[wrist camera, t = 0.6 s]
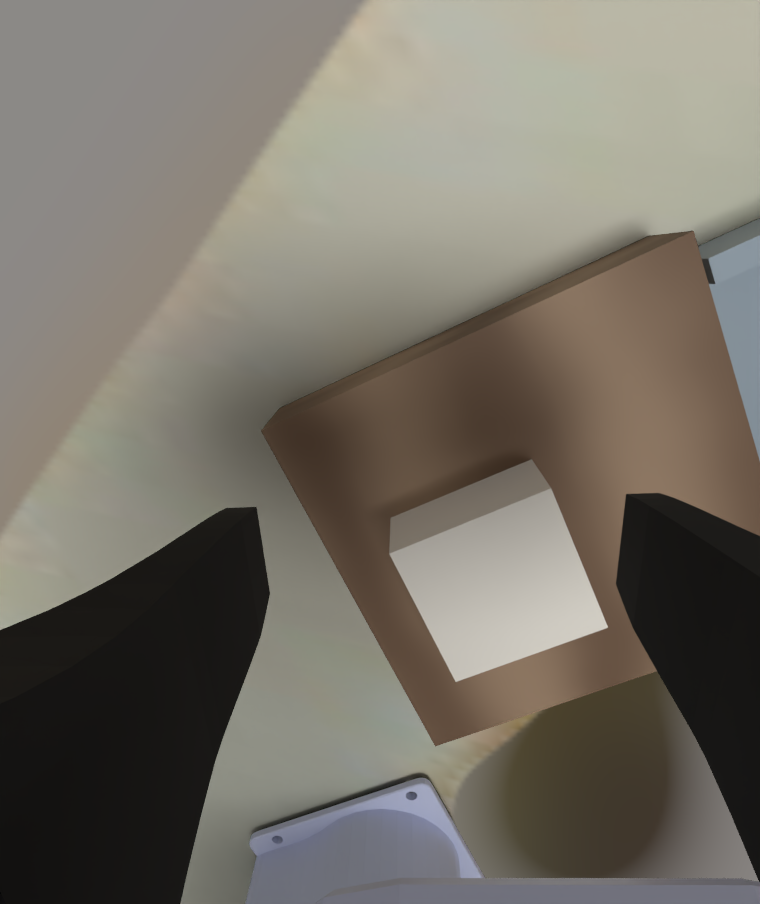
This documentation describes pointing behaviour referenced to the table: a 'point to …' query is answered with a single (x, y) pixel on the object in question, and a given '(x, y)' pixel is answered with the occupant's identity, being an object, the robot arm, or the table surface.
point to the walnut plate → (530, 456)
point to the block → (494, 571)
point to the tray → (739, 308)
